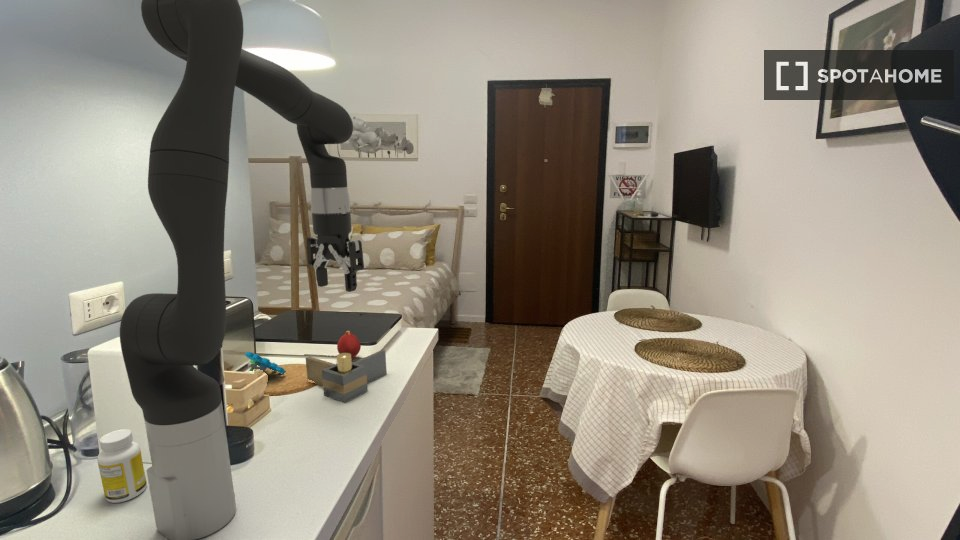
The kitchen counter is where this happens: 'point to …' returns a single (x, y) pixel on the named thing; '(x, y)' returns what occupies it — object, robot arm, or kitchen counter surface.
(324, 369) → the hinge
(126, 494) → the supplement bottle
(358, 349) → the onion
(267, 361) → the blue fuzzy lump
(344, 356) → the hinge pin
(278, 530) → the kitchen counter surface
